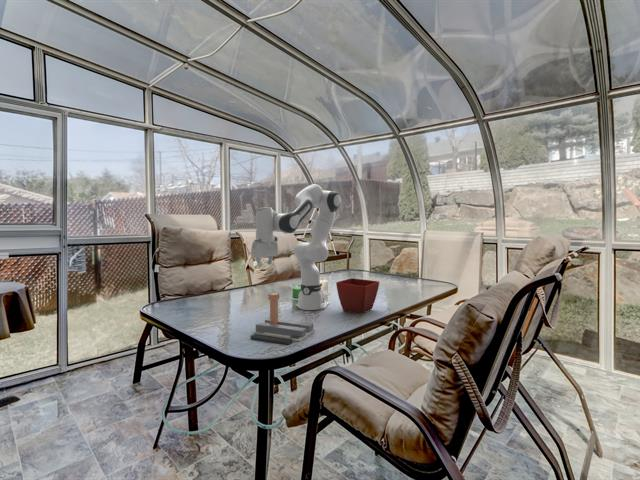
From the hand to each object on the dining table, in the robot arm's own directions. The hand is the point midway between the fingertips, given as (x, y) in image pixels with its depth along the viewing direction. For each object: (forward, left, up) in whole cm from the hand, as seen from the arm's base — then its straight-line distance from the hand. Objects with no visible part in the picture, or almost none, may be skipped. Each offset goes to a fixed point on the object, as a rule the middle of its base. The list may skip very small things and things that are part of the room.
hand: (264, 265), depth 178 cm
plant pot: (-40, +38, -29) cm, 62 cm away
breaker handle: (+12, +12, -28) cm, 33 cm away
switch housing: (+12, +18, -29) cm, 36 cm away
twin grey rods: (+24, +18, -29) cm, 42 cm away
